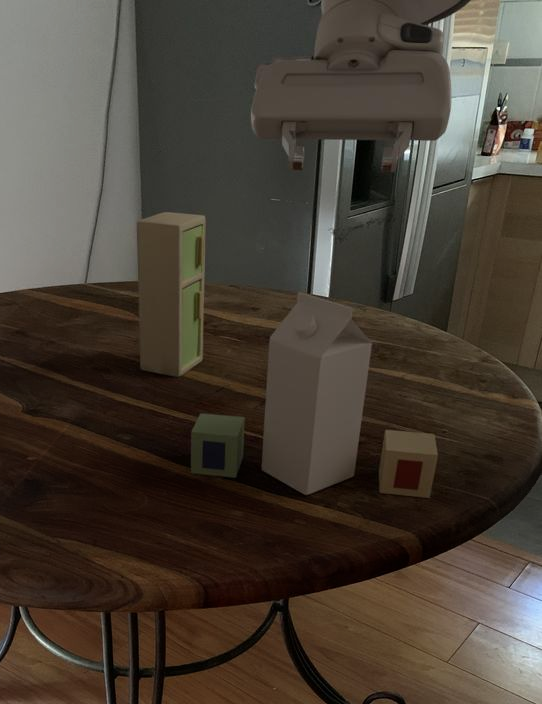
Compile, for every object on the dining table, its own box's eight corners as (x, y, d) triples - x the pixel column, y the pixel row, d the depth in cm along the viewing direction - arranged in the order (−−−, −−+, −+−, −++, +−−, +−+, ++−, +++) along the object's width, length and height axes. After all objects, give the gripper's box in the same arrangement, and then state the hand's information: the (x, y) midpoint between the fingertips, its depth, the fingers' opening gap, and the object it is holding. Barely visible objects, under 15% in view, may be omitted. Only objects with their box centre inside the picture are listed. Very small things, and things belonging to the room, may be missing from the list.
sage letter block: (242, 457, 84) (244, 417, 81) (235, 478, 79) (237, 436, 77) (199, 453, 85) (200, 413, 82) (190, 473, 80) (190, 432, 78)
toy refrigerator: (183, 379, 105) (183, 224, 94) (139, 370, 108) (134, 220, 98) (208, 362, 111) (211, 215, 100) (165, 354, 114) (164, 211, 104)
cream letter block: (426, 475, 79) (434, 433, 77) (429, 499, 75) (438, 455, 72) (378, 470, 80) (385, 429, 78) (379, 493, 76) (385, 450, 74)
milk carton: (307, 454, 84) (323, 286, 75) (354, 478, 79) (378, 301, 69) (260, 471, 81) (271, 297, 71) (306, 497, 76) (324, 314, 66)
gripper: (256, 34, 78) (238, 143, 75) (460, 29, 74) (450, 146, 70) (259, 81, 84) (243, 185, 81) (448, 80, 80) (438, 190, 76)
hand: (341, 167), depth 75 cm, fingers open, 8 cm apart
